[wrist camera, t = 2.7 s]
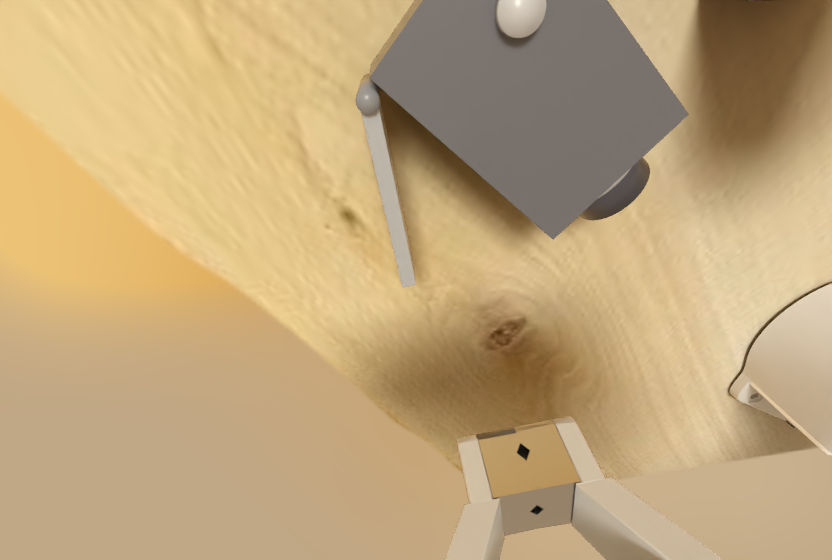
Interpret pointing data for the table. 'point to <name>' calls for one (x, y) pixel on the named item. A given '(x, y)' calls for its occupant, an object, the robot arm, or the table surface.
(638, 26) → the table surface
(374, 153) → the side door
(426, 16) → the camera body
